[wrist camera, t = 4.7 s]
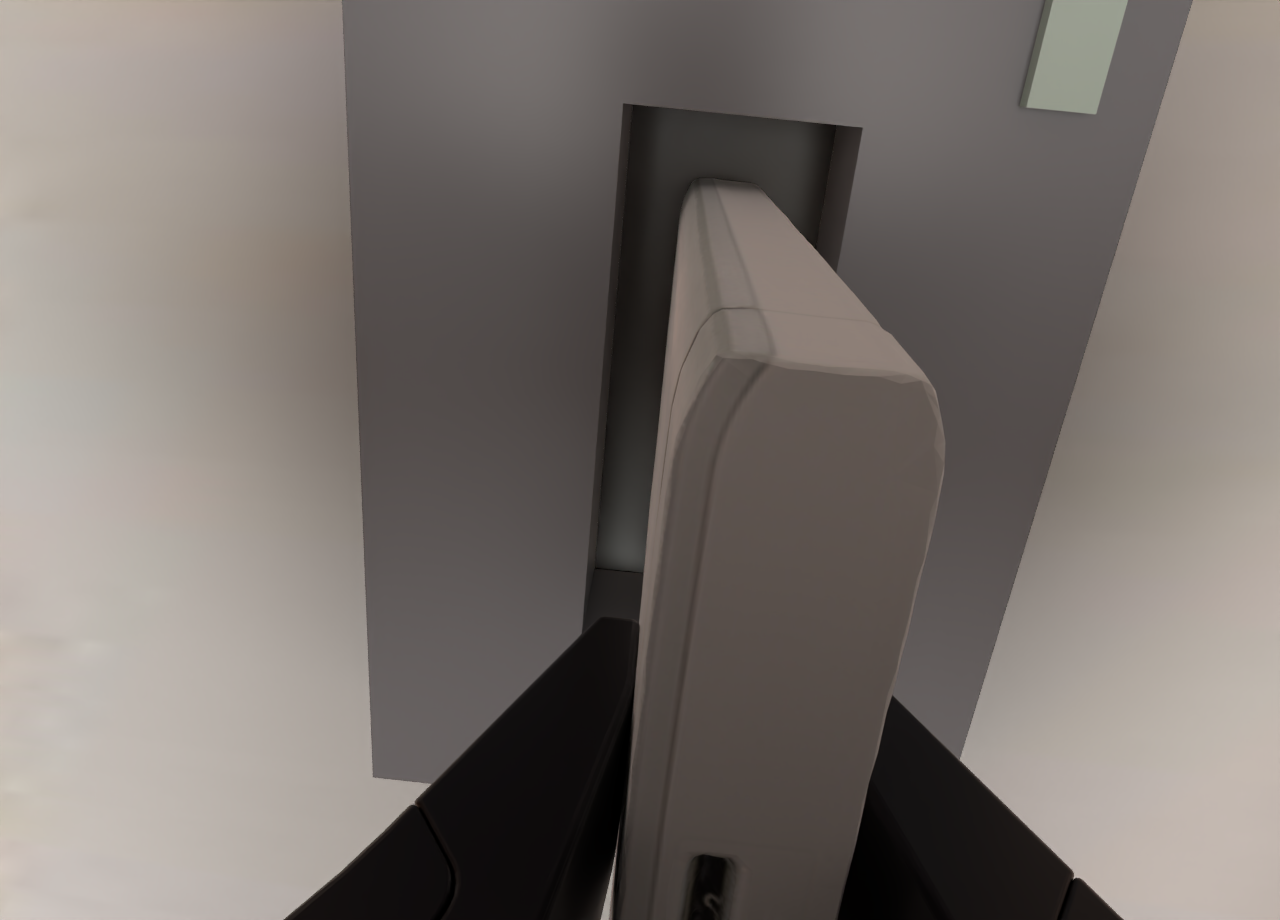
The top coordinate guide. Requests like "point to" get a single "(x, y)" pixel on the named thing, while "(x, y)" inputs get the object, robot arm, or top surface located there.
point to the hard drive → (769, 574)
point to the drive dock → (588, 281)
